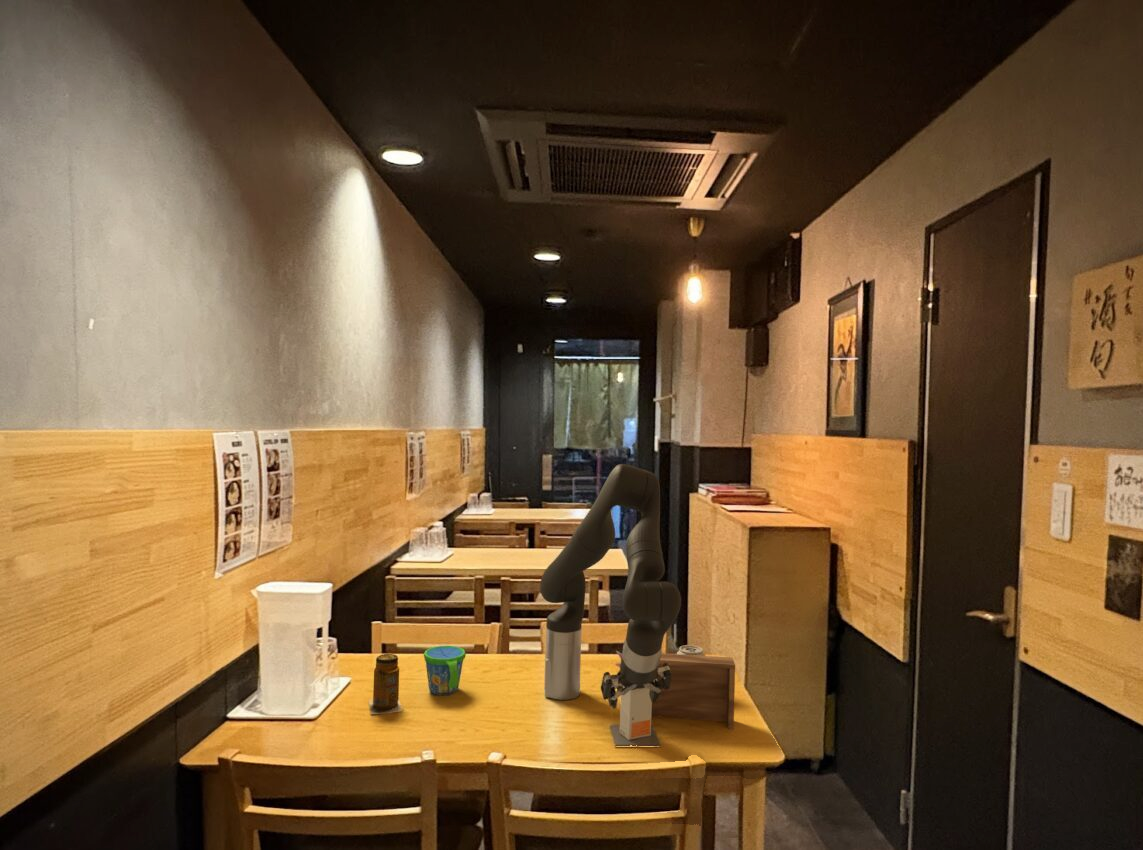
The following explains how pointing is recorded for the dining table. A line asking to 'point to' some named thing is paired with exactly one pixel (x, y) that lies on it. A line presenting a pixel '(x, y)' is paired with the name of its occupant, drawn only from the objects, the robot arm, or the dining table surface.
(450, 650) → the snack cup
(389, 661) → the condiment
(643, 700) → the skincare box
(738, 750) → the dining table surface
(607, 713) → the dining table surface
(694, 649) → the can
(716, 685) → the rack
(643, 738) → the coaster
